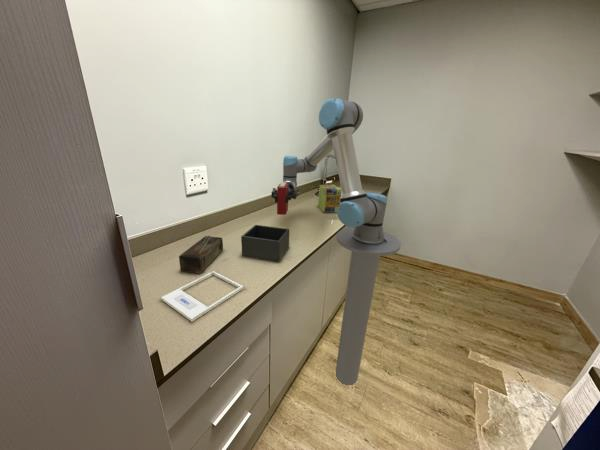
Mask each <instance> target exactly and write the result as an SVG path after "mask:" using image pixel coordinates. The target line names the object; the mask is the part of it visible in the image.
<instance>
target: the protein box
mask: <svg viewBox="0 0 600 450" xmlns="http://www.w3.org/2000/svg"><path fill="white" fill-rule="evenodd" d="M318 188H319V189H318V201H317V202H318V203H317V207H318V208H319V209H320V210H321V211H322V212H323V213H324V214H335V213H337V209H338V208H339V205H340V204H341V202H340V197H341V196H342V189H341V187H339V186H338V185H335V184H323V183H321V184H319V187H318Z"/></svg>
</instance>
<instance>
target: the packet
mask: <svg viewBox="0 0 600 450" xmlns="http://www.w3.org/2000/svg"><path fill="white" fill-rule="evenodd" d="M276 189H277V203H276V215H282V216H286V215H287V214H288V212H289V202H288V203H286V196H287V194H288V189H289V184H287V183H286V182H283V181H282V182H281V183H279V184H278V185H277V187H276Z"/></svg>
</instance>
